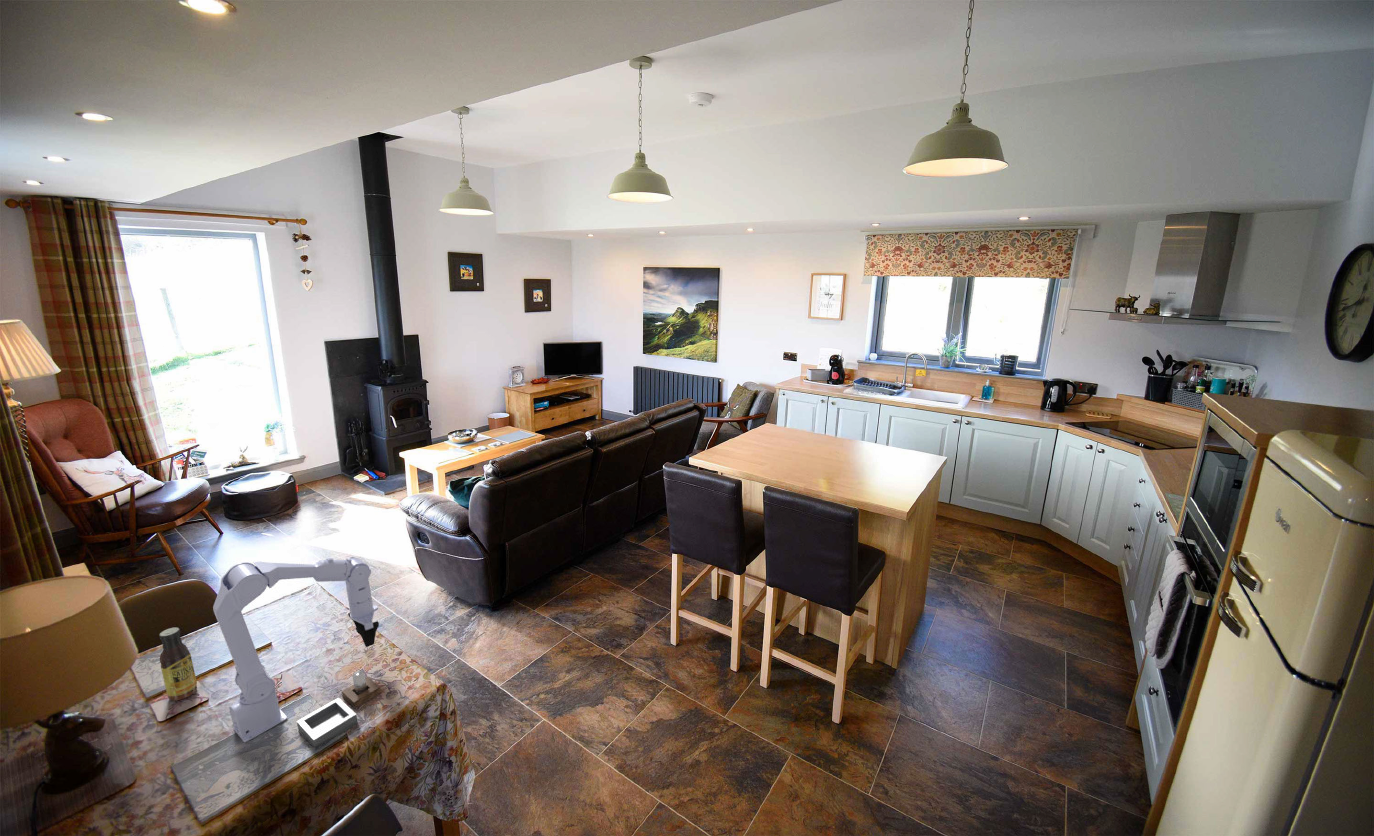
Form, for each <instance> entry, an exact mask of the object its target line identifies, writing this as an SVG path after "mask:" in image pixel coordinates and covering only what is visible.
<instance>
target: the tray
mask: <svg viewBox="0 0 1374 836" xmlns="http://www.w3.org/2000/svg"><path fill="white" fill-rule="evenodd" d="M357 717H358V716H357V713H356V712H354V711H353V709H351V708H350V707H349V706H348V705H347V704H346V703H345V702H344V701H343V700H342V699H341V698H340V697H337V698H335V699H333V700H332V701H329V702H328V703H326V704H325V705H322V706H321V707H319V708H317V709H315V710H313V711H312V712H310V713H308V714H307V715H305V716H303V717H302V718H299V720H297V721H296V724H297V730H298V732H299V733H300V734H301V735H302V736H303V738H304V739H305V740H306V741H307V742H308V743H309V744H310V746H312V748H313V749H314V750H315V751H316V750H318V749H319V748H321V747H323V746H324V745H326V744H327V743H329V742H330V741H332V740H334V739H335V738H337V737H339V736H340V735H342V734H344V733H345V732H347V731H348V730H349V729H351V728H353V727H355V726H357V725H358V724H359V722H358V718H357Z"/></svg>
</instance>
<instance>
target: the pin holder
mask: <svg viewBox="0 0 1374 836" xmlns="http://www.w3.org/2000/svg"><path fill="white" fill-rule="evenodd" d="M365 680H366V686H367V690H366V691H364V692H363V693H361V694H359V695H357V694H356V693H355V687H354V684H352V685H350V686H349V687H347V688H345V689H343V690H341V695H342V698H343V699H344V700H345V701H346V702H347V703H349V704H350V706H352V707H353V708H354V709H357V708H358V707H360V706H361V705H364V704H365V703H366V702H368V701H370V700H371V699H373V698H375V697H376V696H378V695H380V694H382V691H381V690H382V689H381V686H380V685H378V683H376V682H375V681H374V680H373V679H371V678H370V677H369V676H365Z"/></svg>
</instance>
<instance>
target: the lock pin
mask: <svg viewBox="0 0 1374 836" xmlns="http://www.w3.org/2000/svg"><path fill="white" fill-rule="evenodd" d="M365 678H366V676H365V671H364V670H357V671H356V672H353V674H352V680H353V685H354V687H355V693H356V694H357V695H359V694H361V693H363V692H364V691H366V690H367V686H366V680H365Z"/></svg>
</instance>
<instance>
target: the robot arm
mask: <svg viewBox="0 0 1374 836" xmlns="http://www.w3.org/2000/svg"><path fill="white" fill-rule="evenodd" d="M371 573H372V569H371V568H370V566H369V565H368V564H366V563H365V562H364V561H363V560H362V559H360V558H358V557H354V556H351V557H350V556H349V557H348V558H346V559H334V558H332V557H327V558H326V559H320V560H318V561H317V562H315V563H314V564H310V563H308V564H307V563H305V564H304V563H288V562H287V563H285V562H284V563H283V562H281V563H280V562H269V561H268V562H265V561H253V563H251V562H246V561H245V562H244V561H243V562H239V563H236V564H234V565H233V566H231V567H230V568H229V569H228V570H227V572H226V573H224V575H223V576H222V577H221V578H220V587H219V589H218V592H217V596H216V598H215V601H214V603H213V606H212V608H213V609H212V610H213V611H212V612H213V614H214V615H215V618H216V621H217V623H218V626H219V628H220V631H221V634H222V635H223V638H224V641H225V643H226V645H227V648H228V651H229V654H230V656H231V658H232V661H233V662H234V666H235V667H234V668H235V671H236V672H235V673H236V674H235V677H234V682H235V684H236V685H237V686H238V688H239V690H240V695H239V699H238V700H237V701H236V702H234V703H233V704H231V705H230V706H229V708H228V709H229V714H230V717H231V722H232V725H233V730H234V731H235V733H236V734H237V736H238V737H239V738H240V739H241V741H242V742H243V743H246V742H249V741H250V740H252V739H254V738H256V737H257V736H260V735H261V734H262V733H265V732H266V731H268V730H270V729H271V728H273V727H275V726H277V725H279V724H281V723H282V722H284V721H287V719H288V715H286V714H285V713H284V711H283V710H282V709H281V708H280V704H279V700H278V696H277V690H276V682H275V680H274V679H273V678H272V677H271V676H270V675H269V673H268V672H267V670H266V667H265V666H264V665H263V664H262V663H261V661H260V657H259V655H258V652H257V650H256V646H255V644H254V642H253V639H252V636H251V634H250V631H249V628H248V626H247V624H246V623H247V622H246V621H245V618H244V616H243V612H242V611H243V609H245V607H247V606H248V605H249V604H250V603H252V602H253V601H255V600H256V599H257V598H259V597H260V596H261V595H262V594H264V592H265V591H266V589H267V587H268V589H272V588H273V587H274V586H275V585H276V584H277V583H278V582H279V581H281V580H293V579H294V580H295V579H307V578H308V579H309V578H311V579H312V578H313V579H314V580H315V582H318V583H319V582H321V583H323V582H325V583H326V582H327V583H328V582H345V588H346V595H347V600H348V601H347V602H348V606H349V612H348V617H349V619H351V620H352V622H353V624H354V626H355V630H356V632H357V634H359V635H360V637H361V639H362V642H363V644H364V645H365V647H366V648H368V647H370V646H373V645H375V641H376V633H377V630H378V628H379V626H380V622H379V621H378V620H376V621H374V622H373V619H374V615H375V612H376V611H378V610H379V606H378V605H376V604H375V605H374V604H373V599H372V598H373V597H372V592H371V591H372V590H371V584H370V580H369V579H370V577H371Z"/></svg>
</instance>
